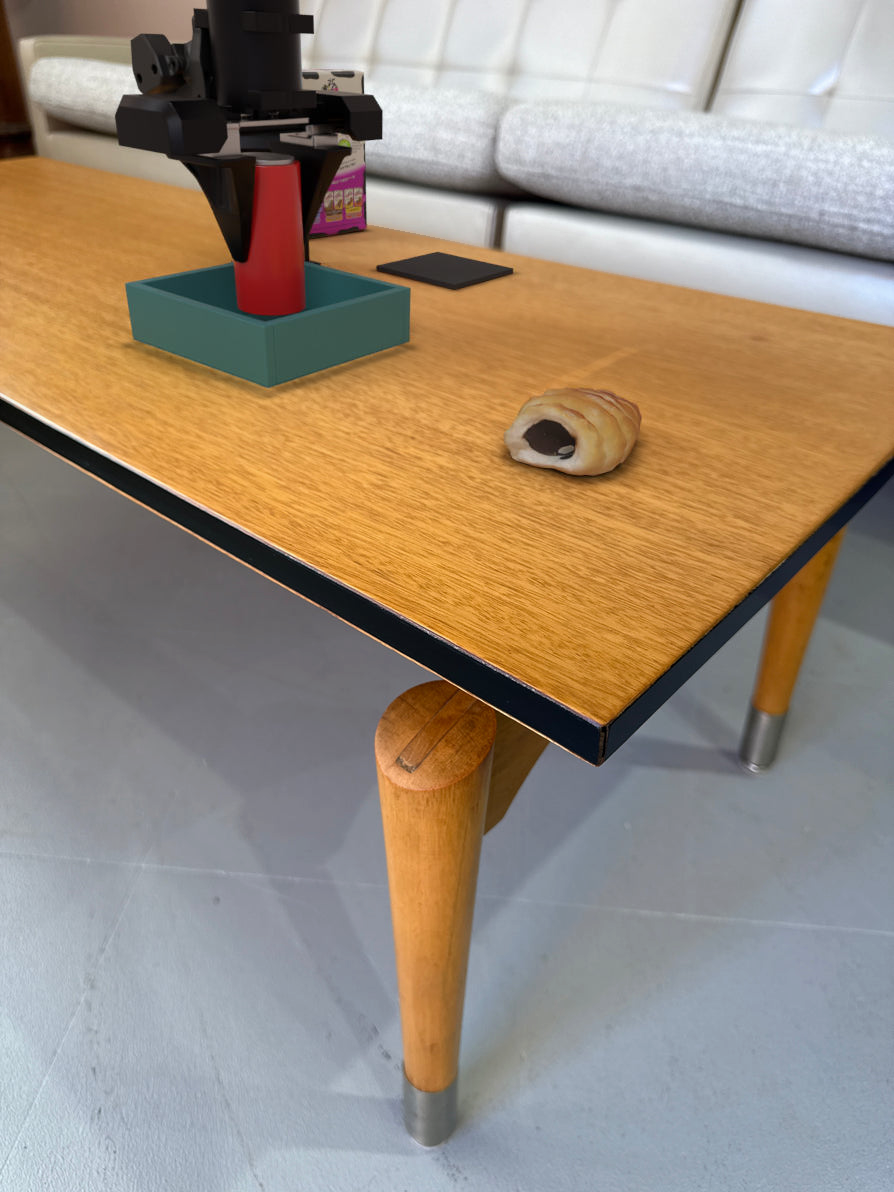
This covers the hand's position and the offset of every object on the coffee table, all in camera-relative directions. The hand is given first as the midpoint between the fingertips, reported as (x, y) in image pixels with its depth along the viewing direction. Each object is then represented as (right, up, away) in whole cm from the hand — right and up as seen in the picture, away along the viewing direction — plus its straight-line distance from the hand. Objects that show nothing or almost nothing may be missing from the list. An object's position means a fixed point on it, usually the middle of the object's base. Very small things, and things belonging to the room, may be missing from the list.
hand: (268, 256), depth 62 cm
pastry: (+20, -16, -10) cm, 28 cm away
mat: (+13, +9, +26) cm, 30 cm away
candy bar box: (-2, +18, +40) cm, 44 cm away
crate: (0, -5, +4) cm, 6 cm away
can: (0, -3, +2) cm, 4 cm away
